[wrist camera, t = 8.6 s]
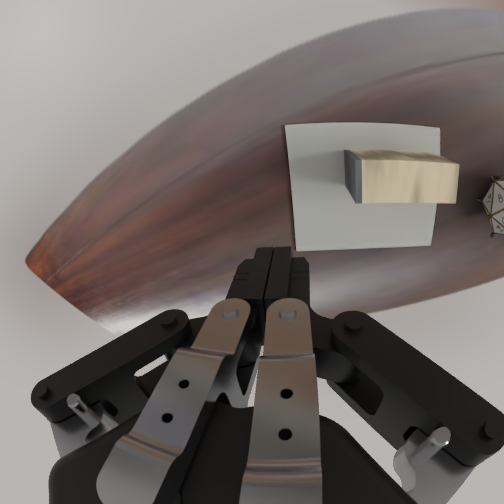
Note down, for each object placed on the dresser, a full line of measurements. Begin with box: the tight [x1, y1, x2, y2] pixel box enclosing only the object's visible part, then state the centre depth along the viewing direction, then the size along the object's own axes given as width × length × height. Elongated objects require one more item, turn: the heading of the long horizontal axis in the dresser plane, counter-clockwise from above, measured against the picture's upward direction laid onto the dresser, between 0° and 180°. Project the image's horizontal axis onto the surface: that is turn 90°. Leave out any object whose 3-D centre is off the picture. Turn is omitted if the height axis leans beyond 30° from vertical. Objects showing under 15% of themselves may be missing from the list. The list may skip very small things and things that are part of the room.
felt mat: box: [285, 122, 440, 251], centre depth 28 cm, size 18×15×1 cm
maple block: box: [344, 150, 459, 204], centre depth 23 cm, size 6×4×11 cm
